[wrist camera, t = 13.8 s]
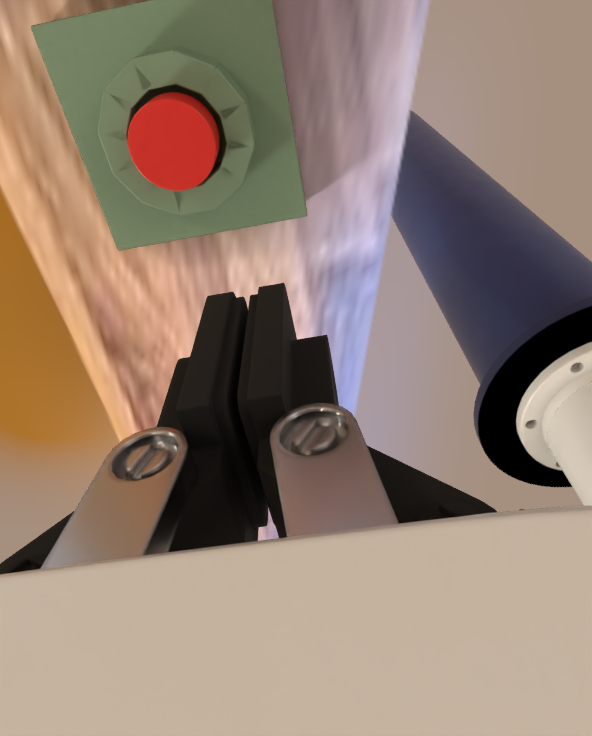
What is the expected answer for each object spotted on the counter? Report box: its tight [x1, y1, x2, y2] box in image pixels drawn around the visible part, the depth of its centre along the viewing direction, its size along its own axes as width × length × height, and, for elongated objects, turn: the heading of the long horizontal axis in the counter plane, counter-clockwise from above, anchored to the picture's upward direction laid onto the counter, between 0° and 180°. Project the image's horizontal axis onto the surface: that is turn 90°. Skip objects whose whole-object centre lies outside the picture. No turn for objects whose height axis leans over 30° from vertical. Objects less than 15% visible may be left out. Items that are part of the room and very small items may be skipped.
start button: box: [128, 92, 220, 191], centre depth 23 cm, size 4×4×2 cm
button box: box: [31, 0, 307, 250], centre depth 25 cm, size 10×10×4 cm
